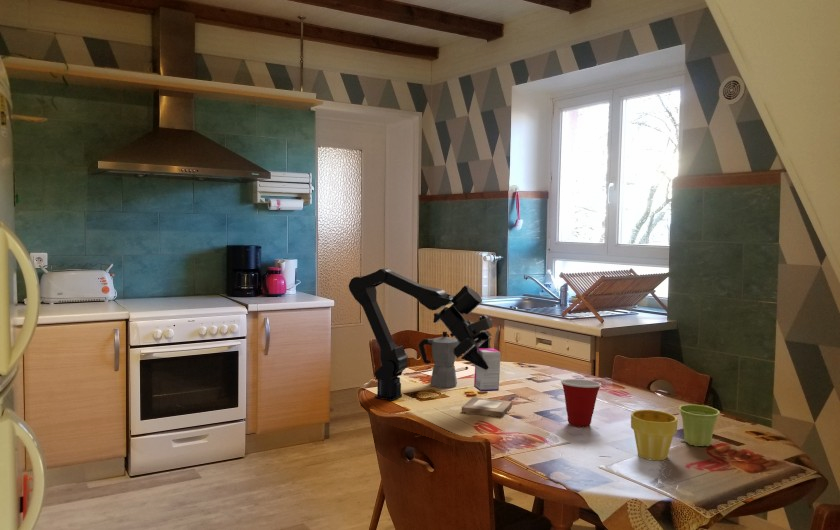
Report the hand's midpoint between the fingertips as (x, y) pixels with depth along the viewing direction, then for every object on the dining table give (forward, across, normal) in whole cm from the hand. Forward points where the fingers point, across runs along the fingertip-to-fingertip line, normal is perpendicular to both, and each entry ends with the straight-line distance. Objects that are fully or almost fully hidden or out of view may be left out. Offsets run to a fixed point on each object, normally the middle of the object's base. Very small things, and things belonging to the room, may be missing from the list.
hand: (491, 366), depth 192 cm
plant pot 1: (+42, -18, -23) cm, 51 cm away
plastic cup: (+27, -1, -9) cm, 29 cm away
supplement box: (+4, 0, +6) cm, 7 cm away
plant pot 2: (+48, -3, -30) cm, 57 cm away
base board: (+8, +1, +10) cm, 13 cm away
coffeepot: (-7, +22, +27) cm, 35 cm away
